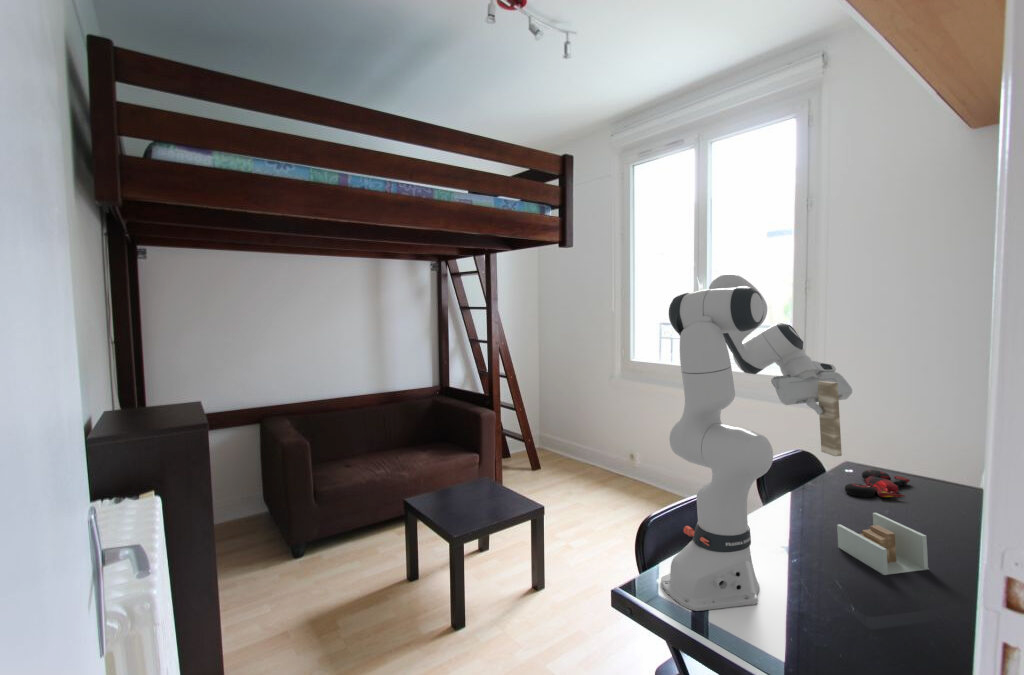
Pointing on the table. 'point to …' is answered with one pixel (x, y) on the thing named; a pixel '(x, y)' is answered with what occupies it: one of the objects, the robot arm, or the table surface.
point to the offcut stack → (882, 540)
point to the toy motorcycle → (876, 485)
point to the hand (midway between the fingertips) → (828, 412)
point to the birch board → (829, 418)
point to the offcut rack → (907, 548)
